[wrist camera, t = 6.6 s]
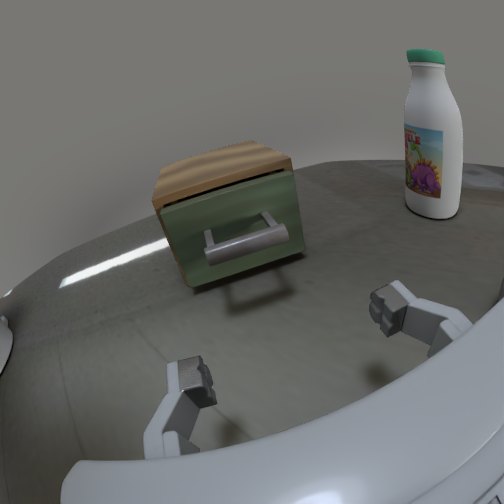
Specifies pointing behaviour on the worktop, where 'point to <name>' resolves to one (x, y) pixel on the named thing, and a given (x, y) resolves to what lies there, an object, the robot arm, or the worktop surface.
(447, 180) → the milk bottle
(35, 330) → the worktop surface
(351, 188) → the worktop surface
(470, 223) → the worktop surface
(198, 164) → the cabinet
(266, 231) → the drawer
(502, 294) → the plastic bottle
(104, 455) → the worktop surface
